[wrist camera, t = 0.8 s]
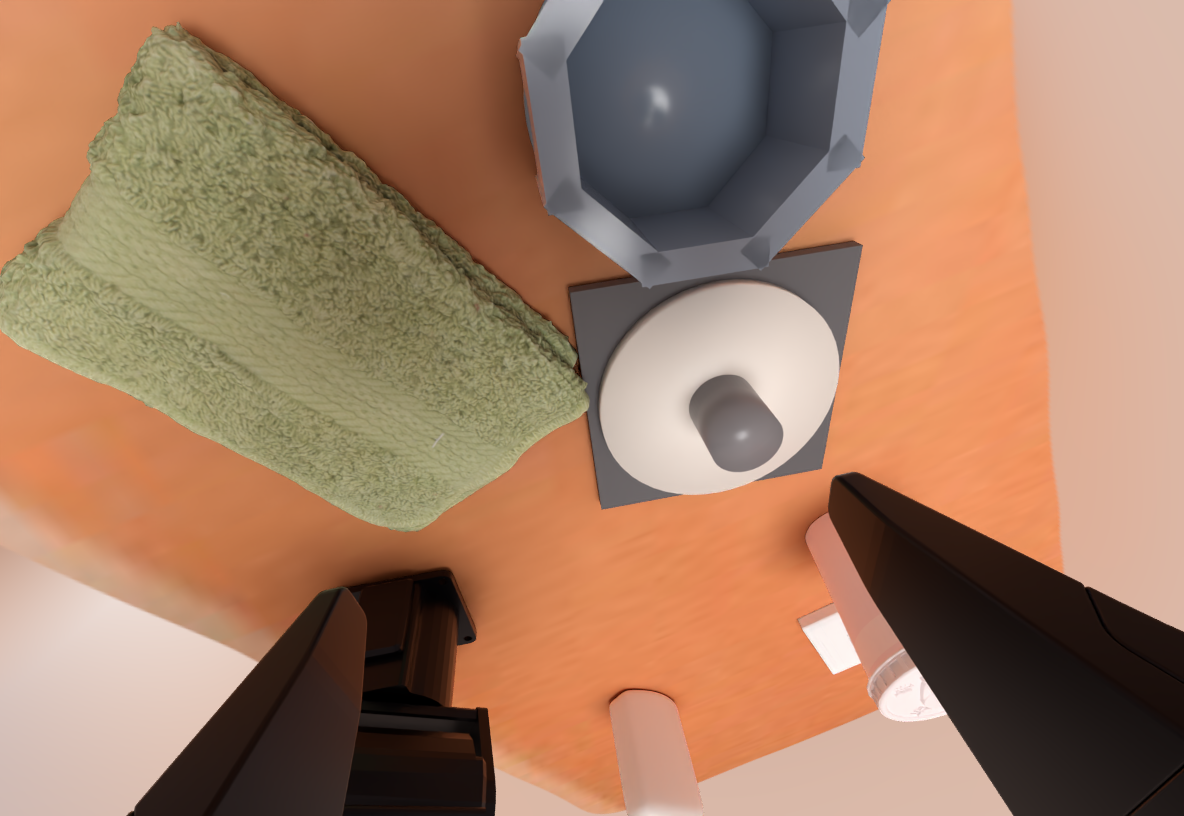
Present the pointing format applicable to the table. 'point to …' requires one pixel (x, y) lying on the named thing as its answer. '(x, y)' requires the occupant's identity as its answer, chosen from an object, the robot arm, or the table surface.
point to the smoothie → (870, 632)
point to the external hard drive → (830, 638)
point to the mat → (622, 302)
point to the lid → (717, 386)
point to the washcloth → (285, 300)
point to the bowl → (696, 123)
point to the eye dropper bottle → (653, 756)
